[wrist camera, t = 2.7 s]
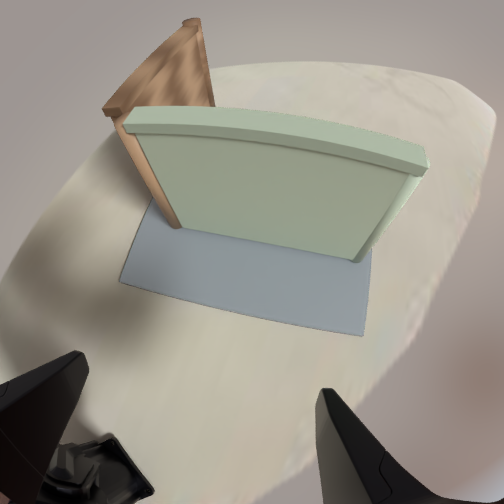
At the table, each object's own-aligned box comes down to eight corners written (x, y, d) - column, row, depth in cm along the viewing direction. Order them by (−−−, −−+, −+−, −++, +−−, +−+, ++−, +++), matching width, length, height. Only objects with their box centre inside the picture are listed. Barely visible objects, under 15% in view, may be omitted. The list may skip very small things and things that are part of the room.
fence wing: (362, 265, 24) (434, 170, 12) (167, 228, 26) (107, 124, 14) (363, 249, 25) (429, 148, 12) (173, 214, 27) (119, 107, 15)
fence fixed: (173, 213, 27) (118, 102, 15) (158, 210, 28) (98, 104, 15) (218, 113, 33) (202, 17, 20) (205, 112, 33) (186, 18, 21)
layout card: (361, 336, 22) (363, 335, 22) (120, 282, 25) (118, 280, 25) (370, 142, 31) (371, 139, 30) (195, 116, 34) (195, 113, 33)
